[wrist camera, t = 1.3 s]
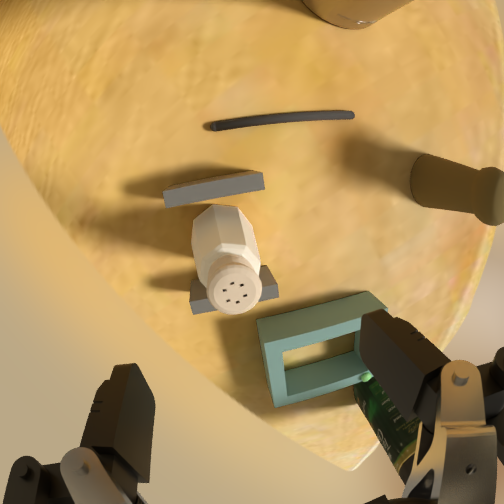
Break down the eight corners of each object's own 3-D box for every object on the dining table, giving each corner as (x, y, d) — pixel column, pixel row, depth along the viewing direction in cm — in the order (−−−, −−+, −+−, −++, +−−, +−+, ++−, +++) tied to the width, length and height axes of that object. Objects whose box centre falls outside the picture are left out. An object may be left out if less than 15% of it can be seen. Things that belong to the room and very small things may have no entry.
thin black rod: (211, 132, 21) (211, 131, 20) (209, 123, 21) (209, 122, 20) (352, 119, 22) (356, 118, 22) (351, 111, 22) (355, 110, 21)
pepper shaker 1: (181, 213, 23) (163, 259, 13) (243, 194, 23) (275, 226, 13) (200, 270, 25) (201, 347, 15) (259, 253, 25) (296, 319, 15)
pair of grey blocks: (169, 186, 22) (162, 191, 18) (252, 170, 23) (262, 172, 19) (194, 292, 25) (193, 314, 22) (268, 277, 26) (279, 297, 22)
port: (256, 319, 27) (264, 346, 23) (368, 290, 29) (389, 310, 25) (267, 383, 31) (275, 410, 27) (363, 355, 32) (379, 377, 28)
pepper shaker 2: (415, 215, 27) (491, 246, 17) (404, 162, 25) (488, 175, 14) (448, 197, 27) (520, 220, 17) (439, 148, 25) (516, 158, 14)
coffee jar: (346, 373, 33) (414, 484, 15) (396, 345, 33) (477, 438, 15) (354, 408, 36) (407, 500, 19) (397, 384, 36) (458, 465, 19)
